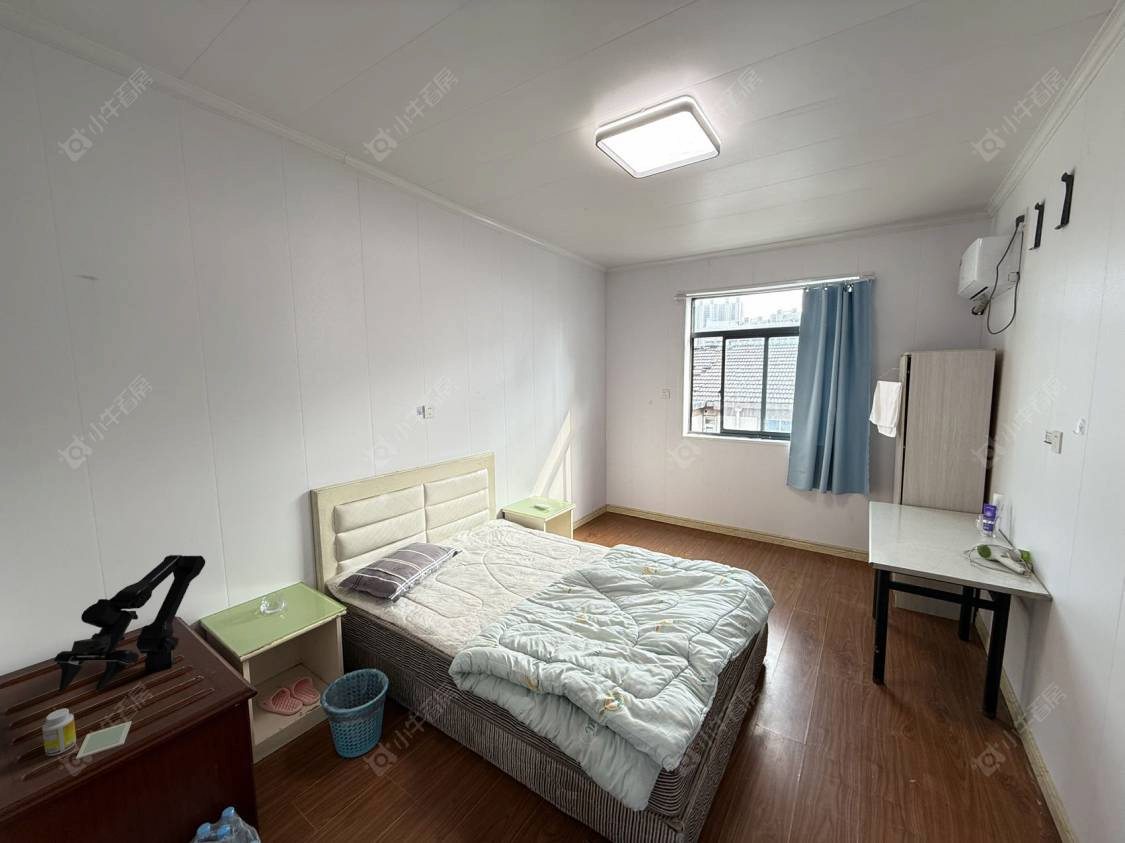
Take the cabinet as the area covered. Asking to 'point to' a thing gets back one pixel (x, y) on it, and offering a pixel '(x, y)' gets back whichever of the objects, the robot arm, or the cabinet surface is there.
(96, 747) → the card
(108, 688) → the cabinet surface
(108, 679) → the robot arm
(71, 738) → the supplement bottle
